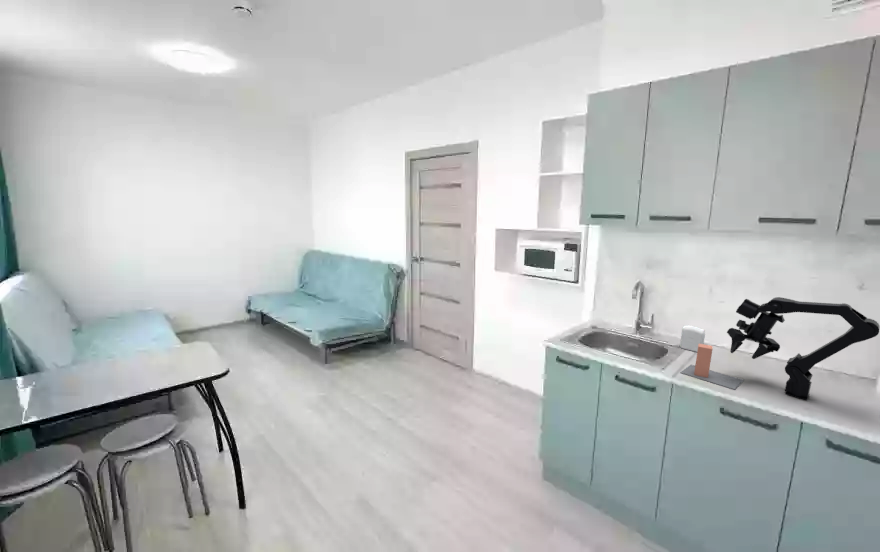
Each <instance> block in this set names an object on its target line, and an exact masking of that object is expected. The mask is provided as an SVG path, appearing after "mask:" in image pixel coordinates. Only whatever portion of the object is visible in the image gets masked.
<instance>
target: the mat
mask: <svg viewBox="0 0 880 552" xmlns="http://www.w3.org/2000/svg"><path fill="white" fill-rule="evenodd" d="M694 371H695V365H693V364H690V365H688V366H687V367H686V368H684V369H683V370H681V371H680V374H682V375H685V376H689V377H692V378H695V379H697V380H698V379H699V380H700V381H701V380H702V381H705V382H708V383H710V384H714V385H717V386H720V387H723V388H727V389H730V390H734V391H735V390H736V389H738V387H740V385H741V384H742V383H743V382H745V379H742V378H739V377H735V376H733V375H732V376H731V375H729V374H725V373H722V372H718V371H714V370H711V369H709V375H708V378H706V377H702V376H697V375H694Z"/></svg>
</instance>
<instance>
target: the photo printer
mask: <svg viewBox="0 0 880 552" xmlns="http://www.w3.org/2000/svg"><path fill="white" fill-rule="evenodd" d="M705 337H706V330H705V329H703V328H701V327H698V326H695V325H683V327H682V328H681V336H680V343H679V344H680V345H679V348H681V349H684V350H688V351H691V352H696V353H697V351H698V344H704V345H705Z"/></svg>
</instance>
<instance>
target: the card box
mask: <svg viewBox="0 0 880 552" xmlns="http://www.w3.org/2000/svg"><path fill="white" fill-rule="evenodd" d="M712 354H713V345H708V344H705V343H704V344H698V351H697V352H696V360H695V371H694V375H697V376H702V377H706V378H708V375H709V370H710V368H711V360H712Z"/></svg>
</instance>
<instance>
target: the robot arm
mask: <svg viewBox="0 0 880 552" xmlns="http://www.w3.org/2000/svg"><path fill="white" fill-rule="evenodd" d="M735 313H736V314H739V315H740V316H742V317H745V318H747V319H749V320H751V319H756V318H757V319H756V320H755V321H751V322H750V323H747V322H746V320H742V319H739V320H738V321H737V322H736V324H735V326H736V327H738V329H737V328H733V327H731V328H729V329H727V331H726V334H727V335H728V336H729V337H730V338H731V345H730V351H729V352H730V353H731V354H734V353H735V352H736V351H737V350H738V349H739V348H740V347H741V346H742V345H743V344H744V343H743V342H744V341H745V340H746V341H750V342H753V343H757V344H758V347H757V348H756V350H754V353H753V354H752V356H751V359H753V360H755V359H758V358H760V357H762V356H765V355H767V354H770V353H774V352H778V351H779V350H780V349H781V345H780V344H779V343H778V342H777V341H776V340H775V339H774V338H770V337H767V336H768V335H772V333H773V332H772V331H771V330H772V329H773V328H774V327H775V325H776V323H777V322H780V323H785V321H786V320H785V317H784V315H785V314H791V313H805V314H806V313H807V314H818V315H820V314H821V315H833V316H834V315H835V316H840V317H841V318H842V319H844V321H846V323H848V324H849V325H850V326H851V327H850V328H848V330H847V331H845V332H844V333H843V334H841V335H840V336H838V337H836V338H834V339H832V340H831V341H829V342H827V343H825V344H823V345H822V346H820V347H818V348H817V349H815V350H813V351H811V352H810V353H808V354H805V355H801V354H800V352H799V353H797V354H796V355H795V356H793V357H789V358H788V360H787V362H786V365H785V366H784V372H785V373H786V375H787V376H789V378H788V379H787V380H786V383H785V386H784V387H785V388H784V391H785V392H784V393H785V395H788V396H790V397H791V396H792V397H795V398H797V399H802V400H804V401H808V399H809V398H810V391H811V387H812V381H811V380H812V378H813V374H812V372H811V371H810V370H811V369H812V368H813V367H814V366H815V365H816V364H819V363H821V362H822V361H824V360H826V359H827V358H828V359H829V357H831V356H833V355H835V354H837V353H839V352H841V351H842V350H844V349H845V348H848V347H849V346H851V345H853V344H856V343H861V342H864V341H867V340H869V339H872V338H875V337H877V336H878V335H879V333H880V324H879V322H878V321H876V320H875V319H873V318H868V317H867V316H865V315H864V314H862V313H861V312H859V311H858V310H856V309H854V308H853V307H852V306H851V305H850V304H848V303H843V302H842V303H832V302H830V303H829V302H816V301H815V302H813V301H812V302H811V301H798V300H794V299H791V298H787V297H781V296H778V297H777V296H776V297H773V298H772V299H771V300H769V301H768V302H765V303H762V304H758V303H756V302H753V301H752V300H750V299H748V298H745V299H744V300H743V302H742V303H741V304H740V305H739V306H738V307H737V309H736V311H735ZM783 314H784V315H783ZM758 315H759V316H758ZM742 331H743V332H742Z"/></svg>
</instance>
